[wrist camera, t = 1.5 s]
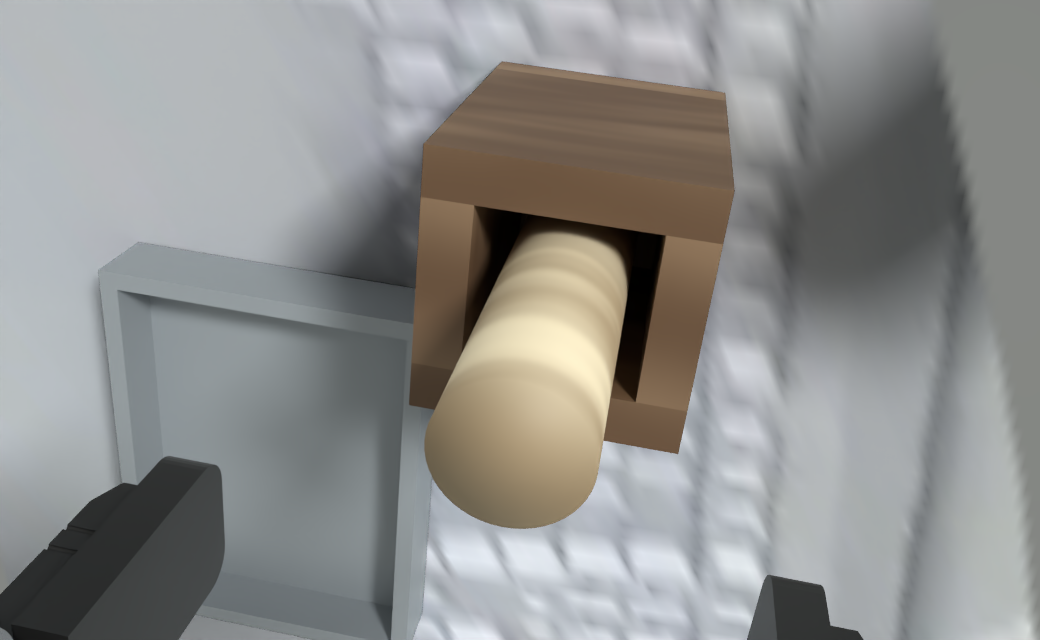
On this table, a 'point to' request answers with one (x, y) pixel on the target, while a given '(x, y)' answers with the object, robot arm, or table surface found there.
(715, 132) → the walnut holder
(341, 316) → the grey tray
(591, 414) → the birch dowel
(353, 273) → the table surface
